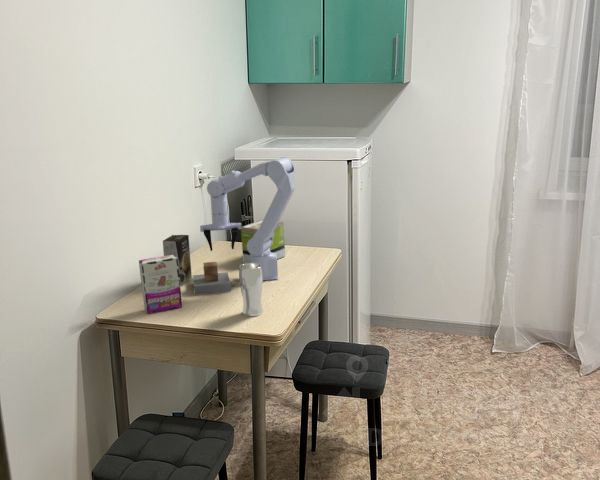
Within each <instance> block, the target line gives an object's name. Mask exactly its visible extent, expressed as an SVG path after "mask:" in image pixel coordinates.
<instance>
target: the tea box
mask: <svg viewBox="0 0 600 480" xmlns="http://www.w3.org/2000/svg"><path fill="white" fill-rule="evenodd" d="M263 220H264V218H263V219H261V220H259V221H256V222H251V223H249V224H246V225H243V226H241V229H240V235H241V246H242V247H241V249H242V251H241V252H242V260H243V261H242V262H243V264H245V263H251V259H250V253H249V252H248V250H247V242H248V241H249V240H250V239H251V238H253V236H254V234H255V233H256V232H257V230H258V229H259V228H260V226H261V224H262V222H263ZM284 230H285V229H284V221H280V220H279V222H278V224H277V226H276V228H275V230H274V237H273V244H272V246H271V247H270V252H271V253H276V256H277V260H280V259H281V258H284V257H286V247H285V231H284Z"/></svg>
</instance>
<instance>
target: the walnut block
mask: <svg viewBox="0 0 600 480" xmlns="http://www.w3.org/2000/svg"><path fill="white" fill-rule="evenodd" d="M218 270H219V269H218V262H217V261H210V262H203V274H204V278H205V282H212V281H218V273H219V271H218Z"/></svg>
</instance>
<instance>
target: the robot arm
mask: <svg viewBox="0 0 600 480" xmlns="http://www.w3.org/2000/svg"><path fill="white" fill-rule="evenodd" d="M295 171H296V168H295V165H294V162H293V161H292V160H291V159H290V158H289V157H286V156H282V157H280V158H276V159H272V160H267V161H265V162H262V163H259V164H257V165H255V166H253V167H251V168H248V169H247V170H244V171H242V172H241V171H239V170H234V169H233V170H231V171H229V172H228V174H226V175H224V176H222V175H221V176H218V179H214V180H211V181H210V182H208V184H207V186H206V190H207V191H206V192H207V193H208V194H209V196H210V206H211V221H212V223H211V224H210V223H209V224H203V225H200V226H199V227H200V233H203V236H205V239H206V241H207V243H208V246H209V250H210V252H212V251H213V244H212V233H211V232H212V231H228V230H230V234H231V235H230V236H231V241H230V243H231V244H230V246H231V250H234V248H235V241H236V239H237V236H238V234H239V230H241V227H242V223H241V222H229V212H228V209H229V208H228V193H230V192H232V191H234V190H236V189H239V188H242V187H244V185H245V182H246V181H248V180H250V179H253V178H256V177H259V176H261V175H262V176H264V177H267V176H268V177H269V179H270V180H271V181H272V182H273V183H274V185H275V186H276V188H277V191H276V193H275V195H274V197H273V199H272V201H271V203H270V206H269V207H268V209H267V211H266V214H265V216H264V218H263V219H264V220H263V219H262V220H263V222H262V224H261V226H260V228H259V229H258V230H257V232H256V233H255V234H254V236H253V238H251V239H250V240H249V241H248V242H247V250H248V252H249V253H250V259H251V263H259V264H261V268H262V277H263V281H272V280H279V276H278V275H279V274H278V273H279V272H278V271H279V270H278V259H277V256H276V253H271V252H270V247H271V246H272V244H273V237H274V230H275V228H276V226H277V224H278V222H279V221H280V220H281V217H282V215H283V214H284V212H285V210H286V208H287V206H288V204H289V202H290V200H291V197H292V196H293V194H294V192H295V188H296V183H295Z"/></svg>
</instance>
